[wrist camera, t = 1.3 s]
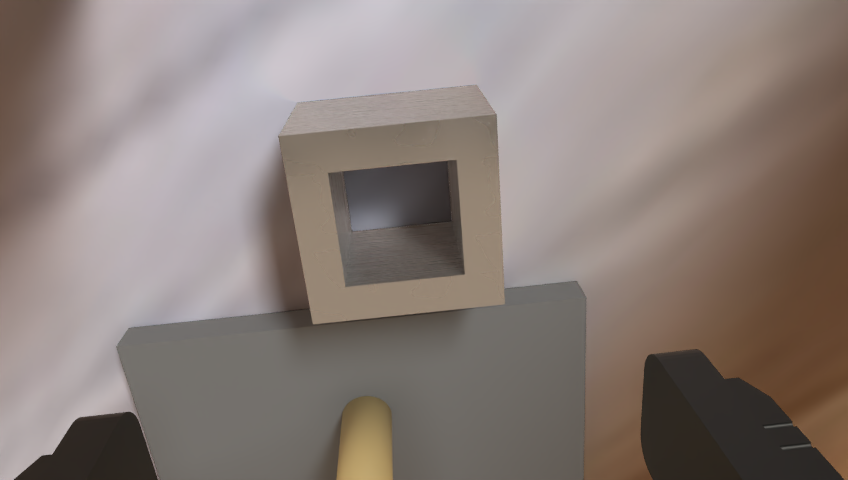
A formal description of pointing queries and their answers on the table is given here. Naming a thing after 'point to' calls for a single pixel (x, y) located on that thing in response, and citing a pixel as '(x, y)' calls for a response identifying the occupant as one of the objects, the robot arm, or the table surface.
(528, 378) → the plate
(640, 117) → the table surface
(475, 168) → the frame
